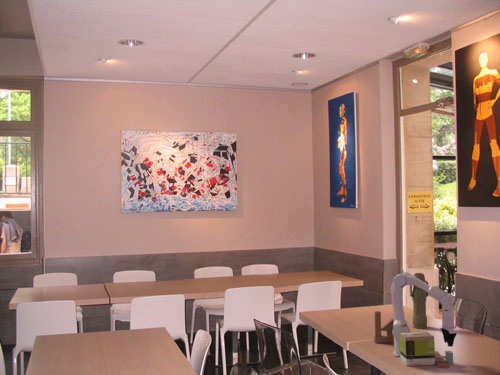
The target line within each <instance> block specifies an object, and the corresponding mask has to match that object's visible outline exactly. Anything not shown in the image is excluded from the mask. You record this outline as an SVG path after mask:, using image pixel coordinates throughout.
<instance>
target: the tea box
mask: <svg viewBox="0 0 500 375" xmlns="http://www.w3.org/2000/svg"><path fill="white" fill-rule="evenodd" d="M435 349H436V347H435V336H434V335H432V334H431V333H429V332H428V331H419V332H418V331H417V332H409V333H400V355H401V356H400V361H401V362H402V363H403V364H404V365H405V366H406V367H410V366H412V367H413V366H434V365H436V364H435V351H436V350H435Z"/></svg>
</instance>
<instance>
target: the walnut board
mask: <svg viewBox="0 0 500 375" xmlns="http://www.w3.org/2000/svg"><path fill="white" fill-rule="evenodd" d="M438 356H442V355H441V354H440V352H439V351H437V350H435V365H436V367H437V368H443V369H444V368H445V369H446V368H447V369H449V368H450V365H449V364H448V363H447V362H446V361H445V358H441V360H440V358H438Z"/></svg>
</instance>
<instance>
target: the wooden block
mask: <svg viewBox="0 0 500 375" xmlns="http://www.w3.org/2000/svg"><path fill="white" fill-rule="evenodd" d="M381 315H382V312H381V311H379V310H377V311H376V310H375V311H374V336H373V337H374V338H373V340H374V343H375V344H394V336H393V334H392V331H393V324H394V318H393V317H391V318H390V319H389V320H388V321H387V322H386V323H385V324H384V325H383V326H382V318H381V317H382V316H381ZM382 332H386V335H382Z"/></svg>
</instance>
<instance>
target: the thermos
mask: <svg viewBox="0 0 500 375" xmlns="http://www.w3.org/2000/svg"><path fill="white" fill-rule="evenodd" d="M413 275H414V276H415V277H416V278H418V279H420V280H421V281H423V282H424V283H426V284H428V285H429V282H428V281H427V280H426V277H425V275H424V273H423V272H422V273H421V272H415V273H414V274H413ZM409 296H410V297H411V300H412V308H413V309H412V310H413V311H412V313H413V314H412V328H414V329H417V330H425V329H427V328H428V326H427V325H428V316H427V306H426V305H427V298H428V297H429V295H428V292H427V291H425V290H423V289H421V288H419V287H417V286H415V285H409Z"/></svg>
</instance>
